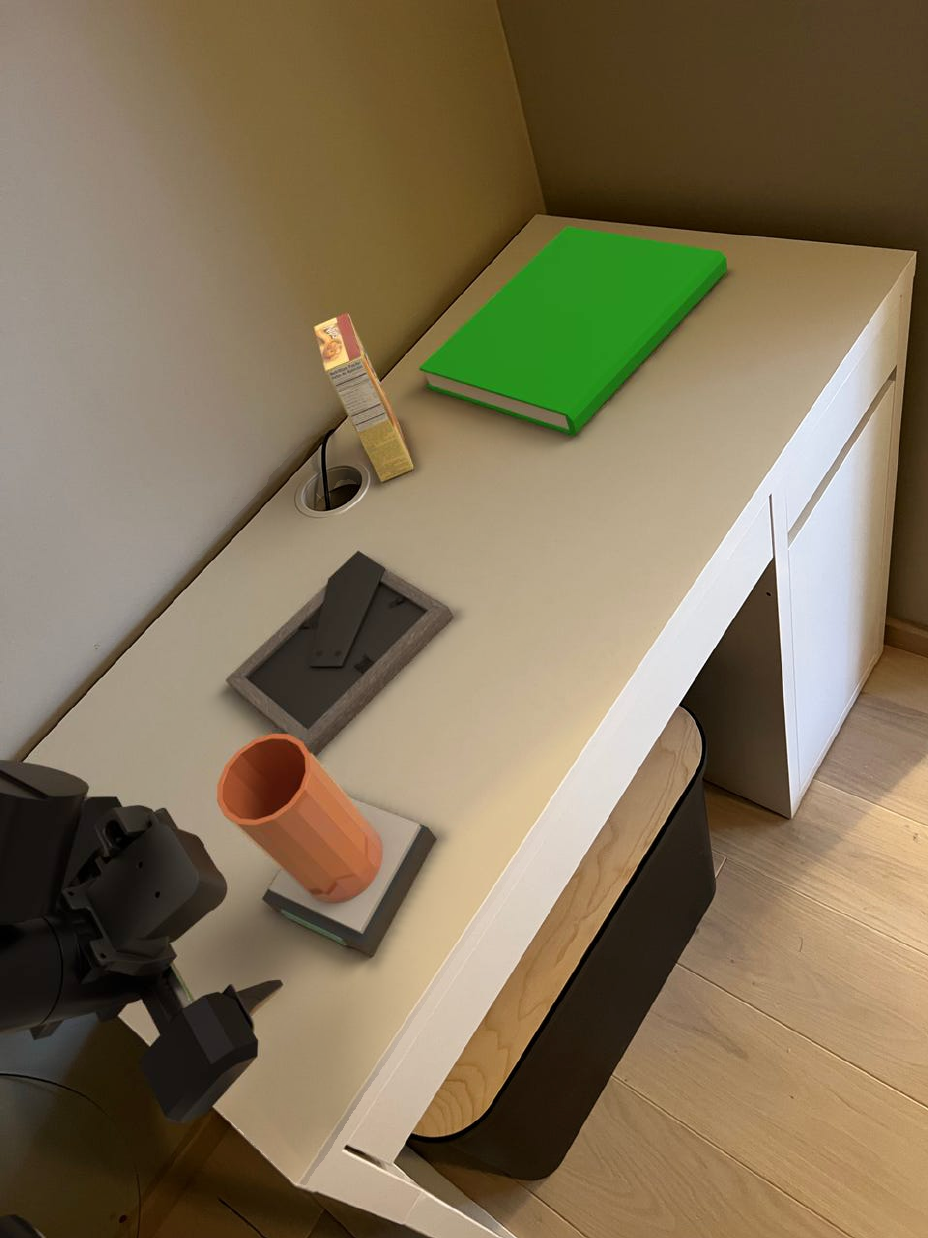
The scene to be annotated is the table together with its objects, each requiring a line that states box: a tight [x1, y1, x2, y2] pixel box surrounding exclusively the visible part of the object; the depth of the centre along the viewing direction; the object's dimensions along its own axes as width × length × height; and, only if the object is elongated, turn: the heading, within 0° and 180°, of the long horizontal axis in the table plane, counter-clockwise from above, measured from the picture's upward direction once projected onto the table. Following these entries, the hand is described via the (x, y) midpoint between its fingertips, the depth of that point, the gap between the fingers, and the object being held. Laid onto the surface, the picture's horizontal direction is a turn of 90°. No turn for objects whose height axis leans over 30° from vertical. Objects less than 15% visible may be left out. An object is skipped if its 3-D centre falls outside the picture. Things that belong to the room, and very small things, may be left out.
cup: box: [216, 733, 383, 903], centre depth 69 cm, size 7×7×13 cm
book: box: [418, 225, 728, 437], centre depth 109 cm, size 22×28×3 cm
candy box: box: [313, 312, 414, 483], centre depth 101 cm, size 9×4×15 cm, turn 15°
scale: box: [261, 796, 437, 958], centre depth 75 cm, size 10×10×3 cm
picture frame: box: [225, 550, 454, 757], centre depth 90 cm, size 13×2×18 cm
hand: (242, 927), depth 62 cm, fingers open, 9 cm apart
